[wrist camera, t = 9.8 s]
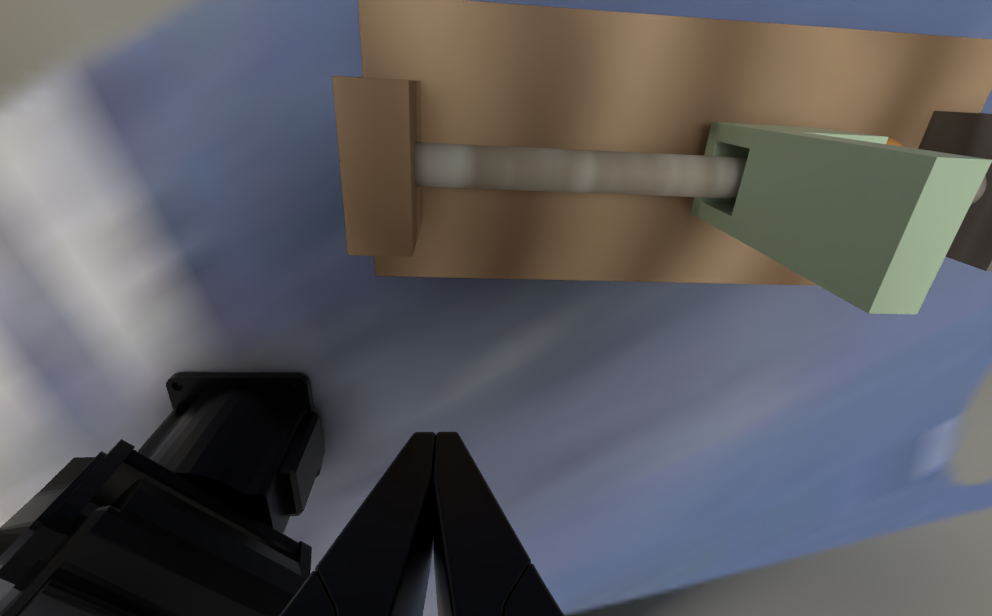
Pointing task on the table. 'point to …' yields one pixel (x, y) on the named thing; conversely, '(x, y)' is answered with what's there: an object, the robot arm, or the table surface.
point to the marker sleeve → (845, 208)
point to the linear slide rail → (615, 134)
